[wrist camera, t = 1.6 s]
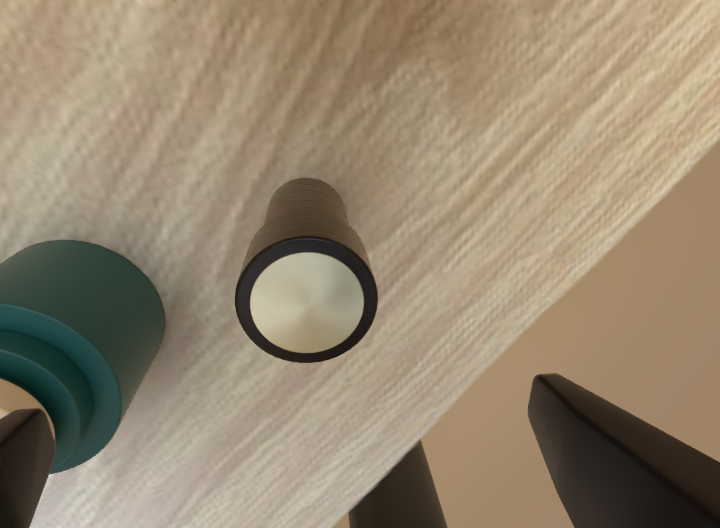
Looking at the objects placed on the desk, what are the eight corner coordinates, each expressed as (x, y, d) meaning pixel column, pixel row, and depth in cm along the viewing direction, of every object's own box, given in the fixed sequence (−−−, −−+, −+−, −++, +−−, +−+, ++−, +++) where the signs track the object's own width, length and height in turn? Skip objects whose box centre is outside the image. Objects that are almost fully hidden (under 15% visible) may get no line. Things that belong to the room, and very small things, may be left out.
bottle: (198, 310, 21) (141, 441, 14) (104, 407, 23) (7, 572, 15) (52, 204, 19) (-109, 296, 11) (-43, 320, 20) (-240, 468, 13)
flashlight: (370, 213, 20) (407, 300, 13) (309, 273, 21) (311, 388, 14) (304, 150, 19) (303, 206, 12) (241, 217, 20) (203, 309, 12)
